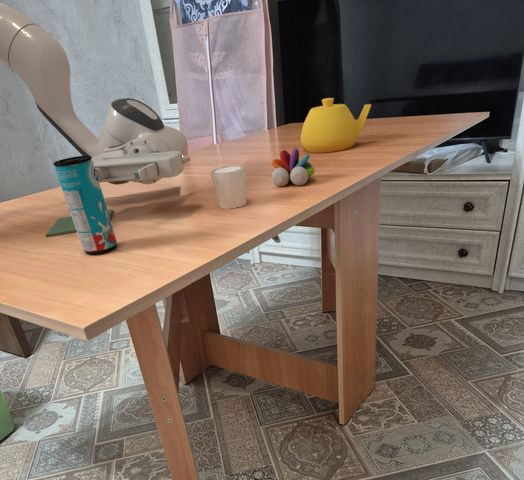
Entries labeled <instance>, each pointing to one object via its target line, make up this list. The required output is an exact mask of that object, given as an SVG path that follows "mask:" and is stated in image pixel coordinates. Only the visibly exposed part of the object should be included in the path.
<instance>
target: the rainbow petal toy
mask: <svg viewBox="0 0 524 480" xmlns="http://www.w3.org/2000/svg"><path fill="white" fill-rule="evenodd" d="M310 157H311V156H310V154H308V153H306V154H305V155H304V156H303V157H302V158H301V159H300V150H299V149H298V148H296V147H294V148H293V149H292V150H291V153H289V151H287V150H286V149H282V150H281V151H280V153H279V158H280V159H279V158H275V159H273V160H272V161H271V162H272V163H271V166H273V168H274V169H273V171H272V173H271V180H272V183H273V184H274V185H275V186H277V187H285V186H286V185H288V183H289V181H291V183H293V185H295V186H303V185H305V184H306V183H307V182H308V180H309V179H311V177H312V176H313V175H314V174H315V171H316V170H315V167H314V166H313V163H312V162H310V161H309V159H310Z"/></svg>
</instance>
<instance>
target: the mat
mask: <svg viewBox="0 0 524 480" xmlns="http://www.w3.org/2000/svg"><path fill="white" fill-rule="evenodd" d="M107 210H108V214H109V217H110V219H112V215H113V214H114V209H113V208H112V209H111V208H110V209H107ZM73 233H77V231H76V228H75V225H74V222H73V219H72V216H71V215H70V216H69V215H68V216H63V217H58V219H56V221H55V222H54V223H53V225H52V226H51V227H50V228H49V230H48V231H47V232H46V233H45V237H46V238H50V237H56V236H61V235H68V234H73Z"/></svg>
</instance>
